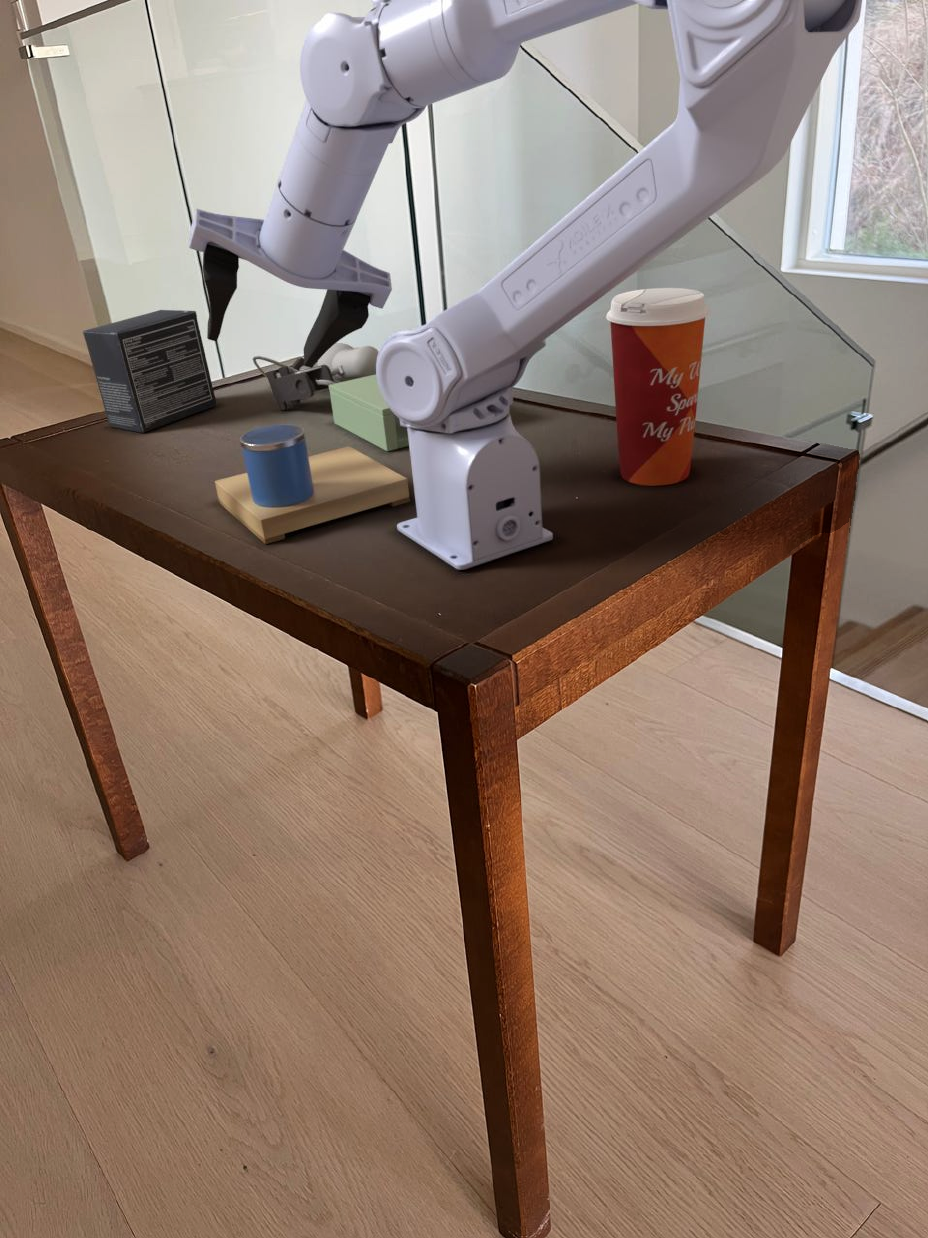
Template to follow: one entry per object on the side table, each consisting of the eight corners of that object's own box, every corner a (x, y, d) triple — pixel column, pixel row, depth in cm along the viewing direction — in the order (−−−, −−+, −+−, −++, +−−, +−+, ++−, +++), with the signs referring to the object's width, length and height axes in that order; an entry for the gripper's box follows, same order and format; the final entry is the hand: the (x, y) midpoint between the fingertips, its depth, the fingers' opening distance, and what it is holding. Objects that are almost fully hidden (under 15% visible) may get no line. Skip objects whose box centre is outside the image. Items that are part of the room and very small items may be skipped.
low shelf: (410, 501, 77) (407, 478, 76) (265, 544, 71) (260, 520, 70) (352, 467, 85) (349, 445, 84) (219, 503, 80) (214, 480, 79)
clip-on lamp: (246, 417, 113) (307, 413, 98) (226, 364, 110) (285, 351, 95) (331, 385, 118) (401, 377, 103) (314, 334, 115) (382, 318, 100)
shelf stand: (495, 422, 93) (493, 382, 91) (387, 451, 88) (381, 409, 86) (435, 398, 102) (431, 361, 100) (334, 423, 97) (328, 384, 95)
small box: (182, 400, 110) (161, 307, 105) (220, 406, 107) (199, 309, 102) (105, 426, 103) (79, 328, 98) (143, 434, 100) (117, 331, 94)
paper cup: (670, 497, 73) (674, 309, 66) (588, 479, 78) (585, 302, 71) (721, 466, 78) (731, 288, 71) (641, 451, 83) (643, 283, 76)
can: (324, 496, 74) (314, 434, 71) (265, 513, 72) (252, 449, 69) (300, 479, 77) (290, 420, 75) (243, 495, 75) (230, 434, 73)
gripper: (409, 199, 70) (345, 336, 80) (213, 125, 64) (169, 284, 74) (419, 259, 66) (350, 395, 76) (211, 187, 60) (164, 346, 70)
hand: (261, 345), depth 75 cm, fingers open, 7 cm apart
